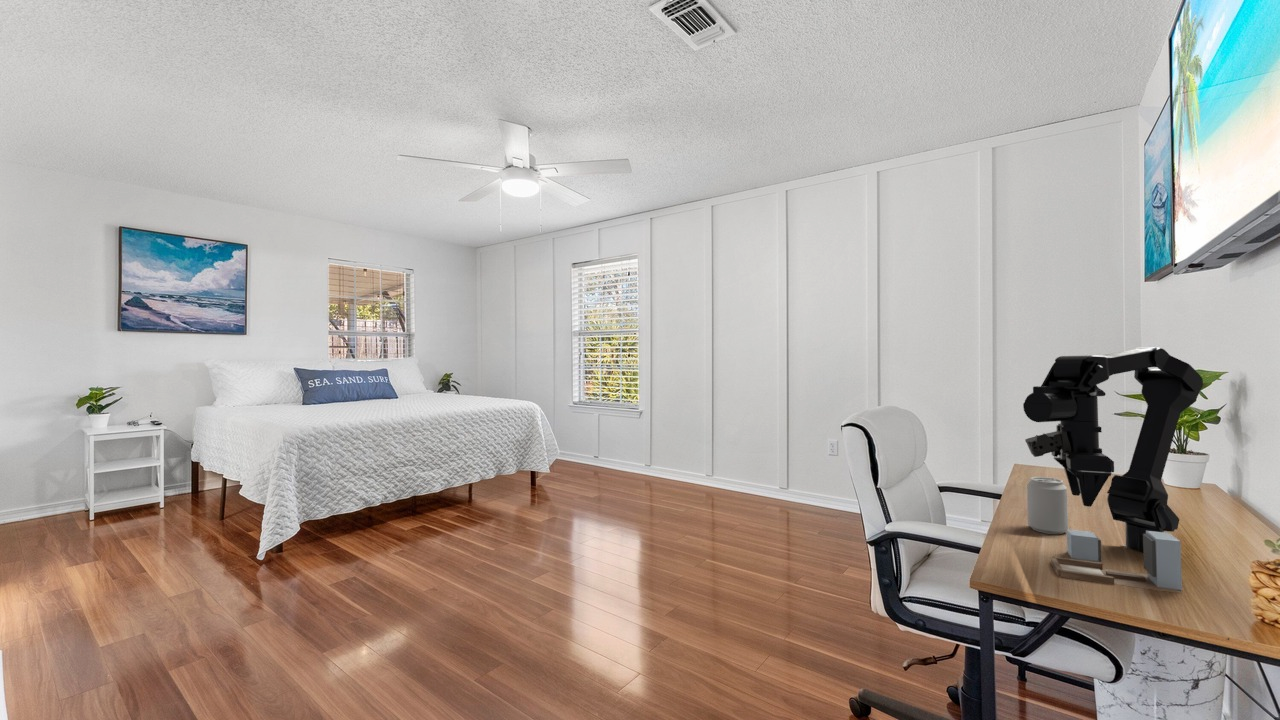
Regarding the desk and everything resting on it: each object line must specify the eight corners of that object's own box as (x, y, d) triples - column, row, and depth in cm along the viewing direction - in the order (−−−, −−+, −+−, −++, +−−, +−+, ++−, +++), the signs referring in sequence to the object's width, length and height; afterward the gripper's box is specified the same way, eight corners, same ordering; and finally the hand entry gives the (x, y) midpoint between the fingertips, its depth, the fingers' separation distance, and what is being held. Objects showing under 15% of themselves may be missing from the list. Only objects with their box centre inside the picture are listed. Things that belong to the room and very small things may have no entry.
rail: (1050, 569, 102) (1049, 556, 102) (1163, 584, 95) (1162, 570, 95) (1058, 584, 95) (1058, 570, 95) (1181, 602, 88) (1181, 586, 88)
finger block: (1067, 559, 107) (1066, 529, 107) (1096, 563, 105) (1095, 532, 105) (1071, 566, 104) (1071, 535, 104) (1102, 570, 102) (1101, 538, 102)
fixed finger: (1143, 576, 95) (1142, 530, 95) (1170, 579, 93) (1168, 532, 93) (1153, 586, 90) (1152, 538, 90) (1181, 590, 89) (1180, 541, 89)
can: (1029, 523, 131) (1027, 474, 131) (1068, 529, 126) (1067, 477, 127) (1026, 531, 125) (1025, 479, 125) (1068, 537, 121) (1066, 483, 121)
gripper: (1021, 414, 117) (1023, 487, 117) (1036, 423, 101) (1038, 507, 100) (1086, 416, 112) (1089, 491, 112) (1113, 425, 95) (1116, 514, 95)
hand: (1081, 500), depth 105 cm, fingers open, 9 cm apart
